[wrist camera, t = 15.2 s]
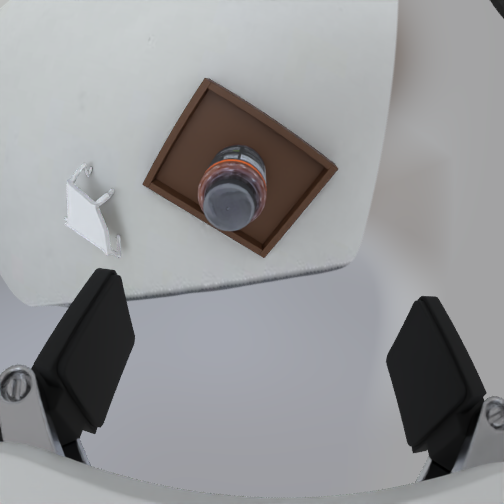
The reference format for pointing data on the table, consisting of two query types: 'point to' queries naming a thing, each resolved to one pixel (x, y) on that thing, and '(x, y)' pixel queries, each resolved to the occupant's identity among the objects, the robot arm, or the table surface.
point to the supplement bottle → (233, 188)
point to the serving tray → (243, 133)
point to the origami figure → (88, 215)
